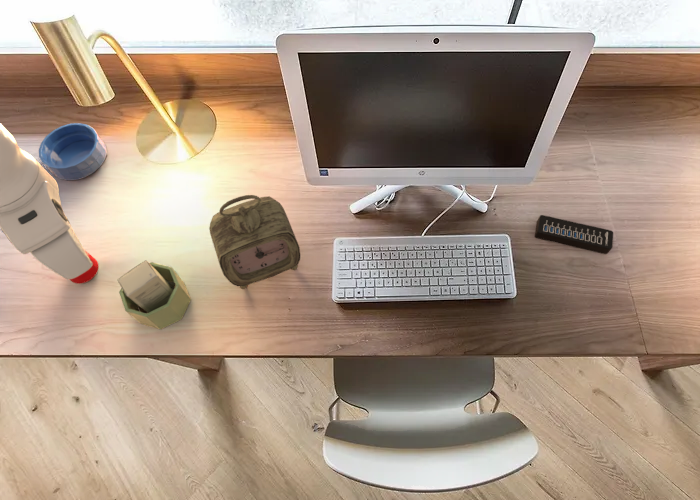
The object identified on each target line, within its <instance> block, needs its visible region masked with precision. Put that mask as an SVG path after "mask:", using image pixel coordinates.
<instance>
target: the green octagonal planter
mask: <svg viewBox="0 0 700 500" xmlns="http://www.w3.org/2000/svg"><path fill="white" fill-rule="evenodd" d="M149 263H150V264H151V265H152V266H153V267H154V268H155V269H156V270H157V271H158V273H159V274H160V275H161V276H162V277H163V278H164V279H165V280H166V281H167V282H169V283H174V285H175V286H174V287H173V288H174V290H173V292H172V294H171V296H170V298H169V300H168V303H167V304H166V305H164V306H162V307H159V308H157V309H155V310H153V311H151V312H149V313H147V312H143V311H141V310H140V308H139V307H140V306H139V305H138V304H136V303H135V302H134V301H133V300H131V299H130V298H129V297H128V296H127V295H126V294H125V292H124V291H123V289H122V288H121V287H120V289H119V291H118V293H119V297H120V300H121V302H122V305H123V308H124V310H125V312H126V313H127V314H128V315H130V316H131V317H132V318H134V319H135V320H136V321H137V322H138V323H139V324H141V325H143V326H147V327H150V328H154V329H158V330H163V329H165V328H168V327H169V326H171V325H173V324H175V323H177V322H179V321H181V320H183V317H184V316H185V313H186V312H187V310H188V307H189V305H190V303H191V300H192V298H191V296H190V293H189V291H188V289H187V286H186V284H185V282H184V280H183V279H182V278H181V277H180V275H179V274H178V273H177V272H176V271H175V269H174V268H173V267H172V266H169V265H164V264H161V263H156V262H153V261H151V262H149Z"/></svg>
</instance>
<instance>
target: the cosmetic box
mask: <svg viewBox="0 0 700 500" xmlns="http://www.w3.org/2000/svg"><path fill="white" fill-rule="evenodd" d="M150 263H151V262H149V261H148V260H147V259H146V260H144V261H142V262H140V263H139V264H137V265H136V266H134V267H133V268H131V269H130V270H128V271H127V272H126V273H123V275H121V276H120V277H119V278H117V282H118V284H119V286H120V289H121V288H122V289H123V291H124V292H125V294H126V295H127V296H128V297H129V298H130V299H131V300H133V301H134V302H135V303H136V304H138V307H140V308H141V309H143V310H144V311H145V313H146V314H147V313H149V312H151V311H153V310H155V309H157V308H159V307H162V306H164V305H166V304H167V303H168V300H169V298H170V296H171V294H172V292H173V290H174V288H175V287H173V286H172V285H171V284H170V282H169V281H166V280H165V279H164V278H163V277H162V276H161V275H160V274H159V273H158V271H157V270H156V269H155V268H154V267H153V266H152V265H151V264H150Z"/></svg>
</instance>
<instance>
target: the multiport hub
mask: <svg viewBox="0 0 700 500" xmlns="http://www.w3.org/2000/svg"><path fill="white" fill-rule="evenodd" d="M534 238H535V239H538V240H544V241H548V242H552V243H556V244H559V245H560V244H561V245H564V246H569V247H573V248H578V249H581V250H585V251H590V252H595V253H599V254H603V255H607V254H608V253H610V251H611V250H612V249H613V244H614V231H613V230H611V229H606V228H602V227H598V226H593V225H588V224H584V223H580V222H575V221H571V220H566V219H563V218H557V217H554V216H550V215H549V216H548V215H544V214H540V215H539V217H538V219H537V220H536V225H535V231H534Z"/></svg>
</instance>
